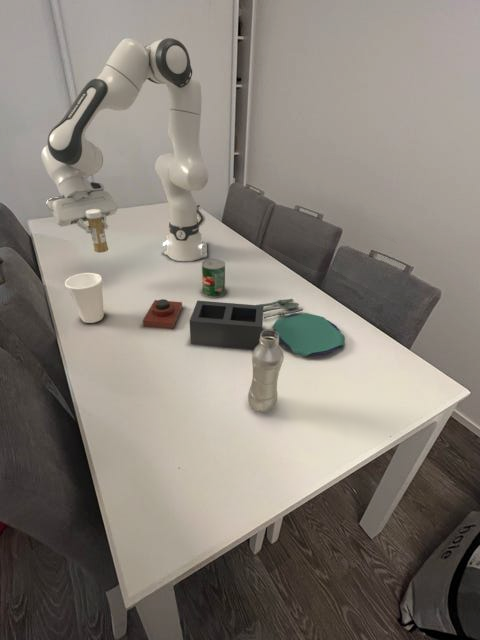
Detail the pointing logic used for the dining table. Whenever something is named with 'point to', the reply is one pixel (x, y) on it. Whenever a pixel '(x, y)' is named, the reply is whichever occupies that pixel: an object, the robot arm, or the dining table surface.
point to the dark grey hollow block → (226, 324)
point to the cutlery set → (305, 331)
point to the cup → (87, 295)
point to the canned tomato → (213, 277)
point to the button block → (163, 315)
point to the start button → (162, 304)
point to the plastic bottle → (265, 371)
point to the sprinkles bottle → (97, 230)
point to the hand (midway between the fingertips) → (98, 230)
